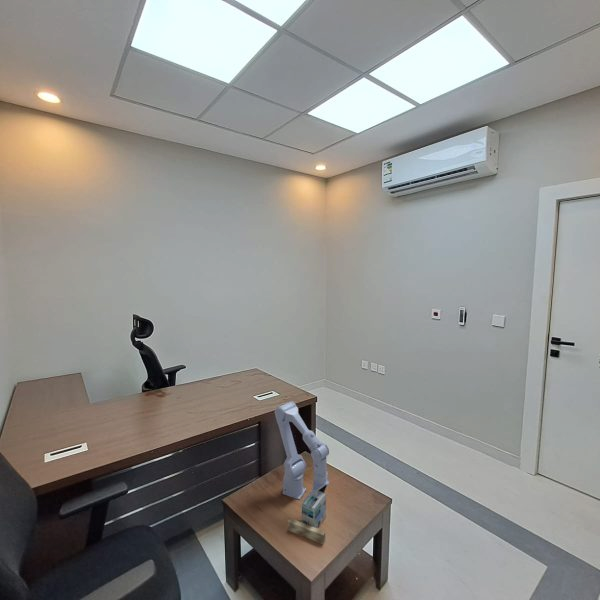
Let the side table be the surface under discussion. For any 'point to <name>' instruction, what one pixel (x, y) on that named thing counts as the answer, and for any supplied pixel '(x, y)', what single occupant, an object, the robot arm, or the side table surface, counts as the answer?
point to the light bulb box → (314, 509)
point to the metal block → (306, 531)
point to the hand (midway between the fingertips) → (320, 499)
